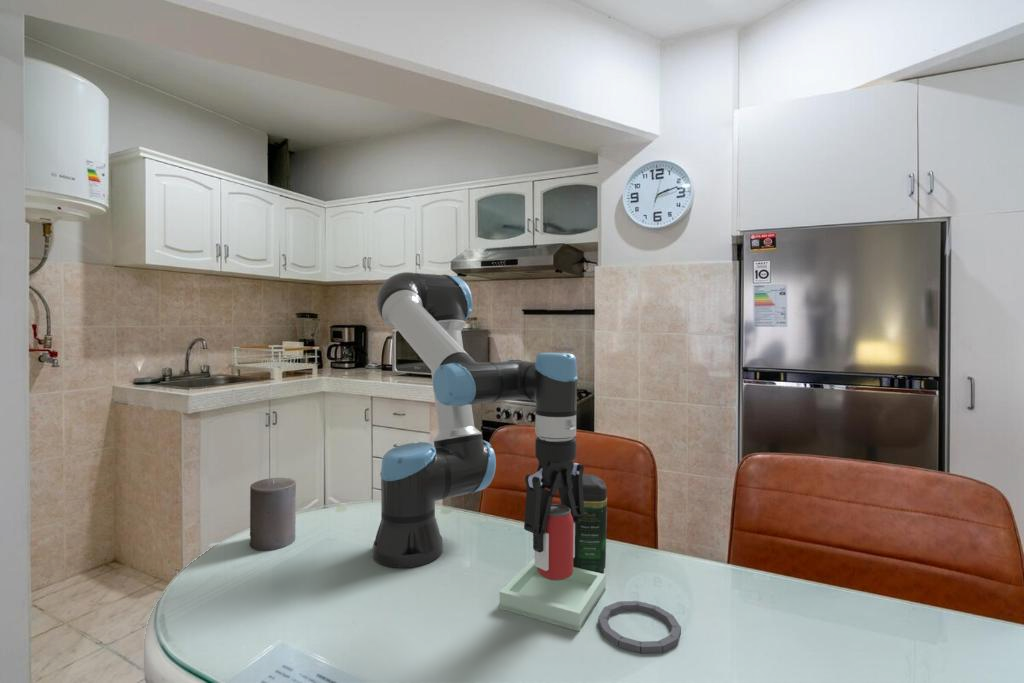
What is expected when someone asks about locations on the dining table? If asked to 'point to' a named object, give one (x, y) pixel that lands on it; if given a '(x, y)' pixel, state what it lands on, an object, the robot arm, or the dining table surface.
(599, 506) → the coffee jar
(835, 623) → the dining table surface
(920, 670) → the dining table surface
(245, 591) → the dining table surface
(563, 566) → the beer can
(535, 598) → the bin
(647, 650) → the socket ring
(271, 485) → the pillar candle
